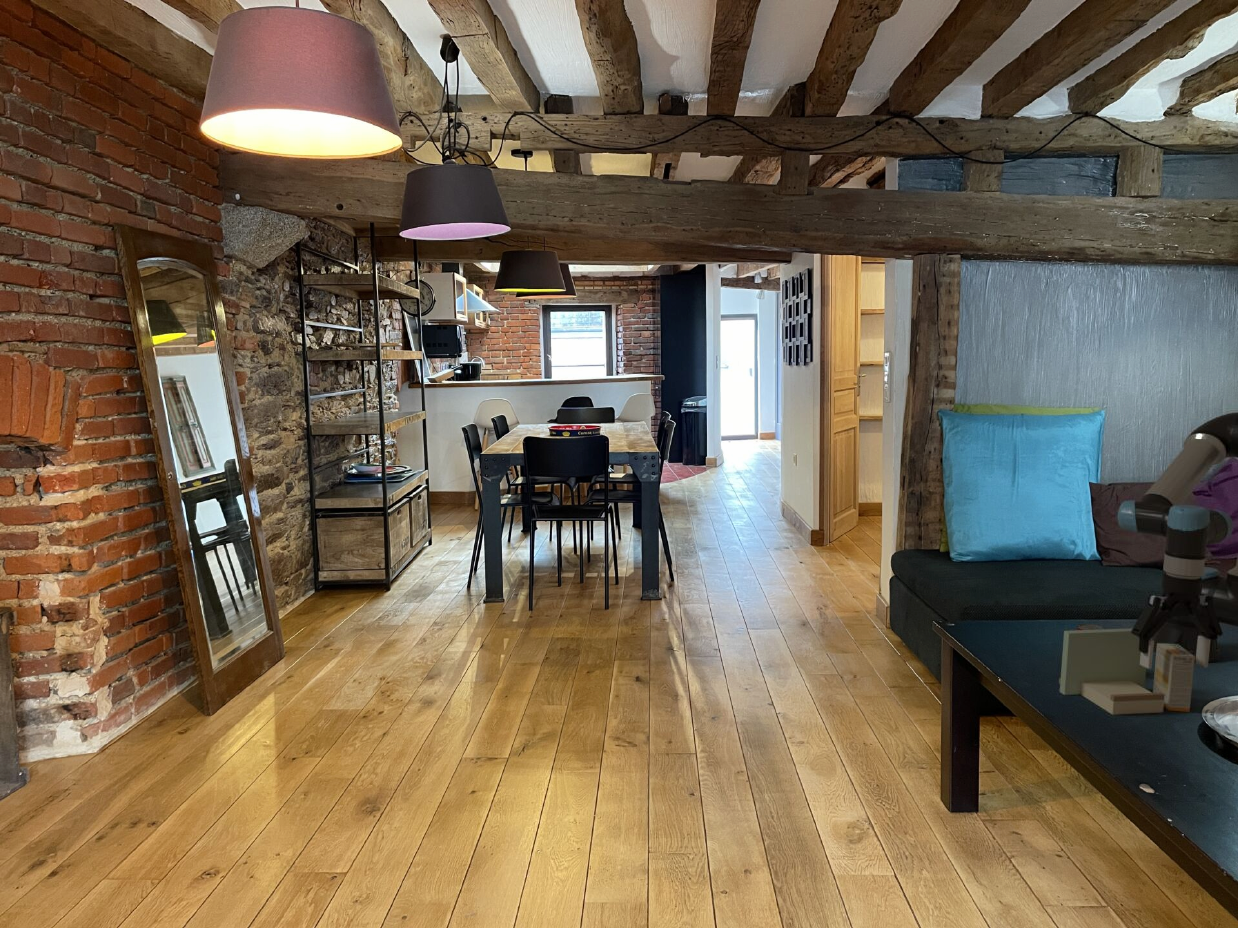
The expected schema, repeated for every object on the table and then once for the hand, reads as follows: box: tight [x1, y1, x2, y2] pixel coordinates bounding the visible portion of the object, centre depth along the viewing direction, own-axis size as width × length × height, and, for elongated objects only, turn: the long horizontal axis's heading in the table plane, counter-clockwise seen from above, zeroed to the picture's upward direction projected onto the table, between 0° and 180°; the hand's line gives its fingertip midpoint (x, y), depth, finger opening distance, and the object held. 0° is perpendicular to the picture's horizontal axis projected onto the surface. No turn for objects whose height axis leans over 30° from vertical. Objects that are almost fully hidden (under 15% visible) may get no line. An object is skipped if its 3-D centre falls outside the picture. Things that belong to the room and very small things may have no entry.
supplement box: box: [1152, 643, 1195, 713], centre depth 188 cm, size 8×5×13 cm, turn 168°
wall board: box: [1058, 627, 1165, 716], centre depth 192 cm, size 20×18×15 cm
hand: (1173, 665), depth 187 cm, fingers open, 13 cm apart
